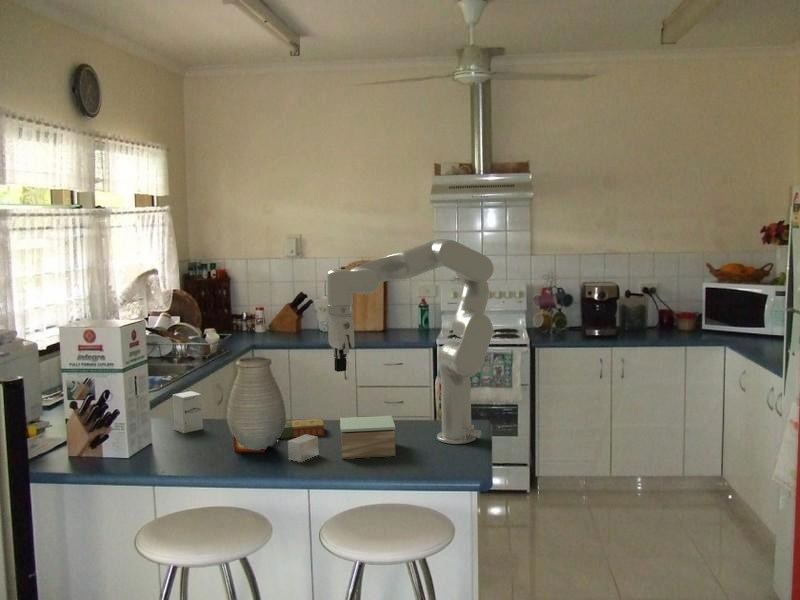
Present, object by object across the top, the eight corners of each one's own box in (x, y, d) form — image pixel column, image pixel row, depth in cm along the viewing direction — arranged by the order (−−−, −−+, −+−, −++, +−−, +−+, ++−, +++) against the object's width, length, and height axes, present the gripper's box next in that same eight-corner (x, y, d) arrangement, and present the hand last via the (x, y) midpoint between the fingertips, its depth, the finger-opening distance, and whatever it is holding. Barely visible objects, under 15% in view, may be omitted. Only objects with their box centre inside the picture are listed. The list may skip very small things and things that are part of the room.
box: (395, 456, 236) (394, 431, 235) (342, 459, 235) (341, 433, 234) (391, 443, 250) (391, 418, 249) (341, 445, 249) (340, 420, 248)
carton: (324, 436, 260) (323, 424, 259) (275, 440, 258) (274, 427, 257) (323, 429, 268) (322, 417, 268) (275, 432, 266) (275, 420, 265)
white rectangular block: (318, 455, 240) (317, 436, 239) (301, 463, 233) (300, 443, 232) (306, 453, 242) (305, 434, 242) (288, 460, 236) (287, 441, 235)
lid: (395, 429, 235) (395, 426, 235) (340, 432, 234) (340, 429, 234) (391, 418, 249) (391, 415, 249) (340, 420, 248) (340, 417, 248)
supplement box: (183, 434, 266) (181, 397, 264) (173, 429, 271) (171, 394, 270) (203, 429, 271) (201, 393, 269) (193, 425, 276) (191, 390, 274)
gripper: (361, 312, 230) (362, 374, 232) (341, 307, 243) (342, 365, 245) (338, 314, 226) (338, 376, 228) (319, 308, 240) (319, 367, 242)
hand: (340, 370), depth 237 cm, fingers closed
